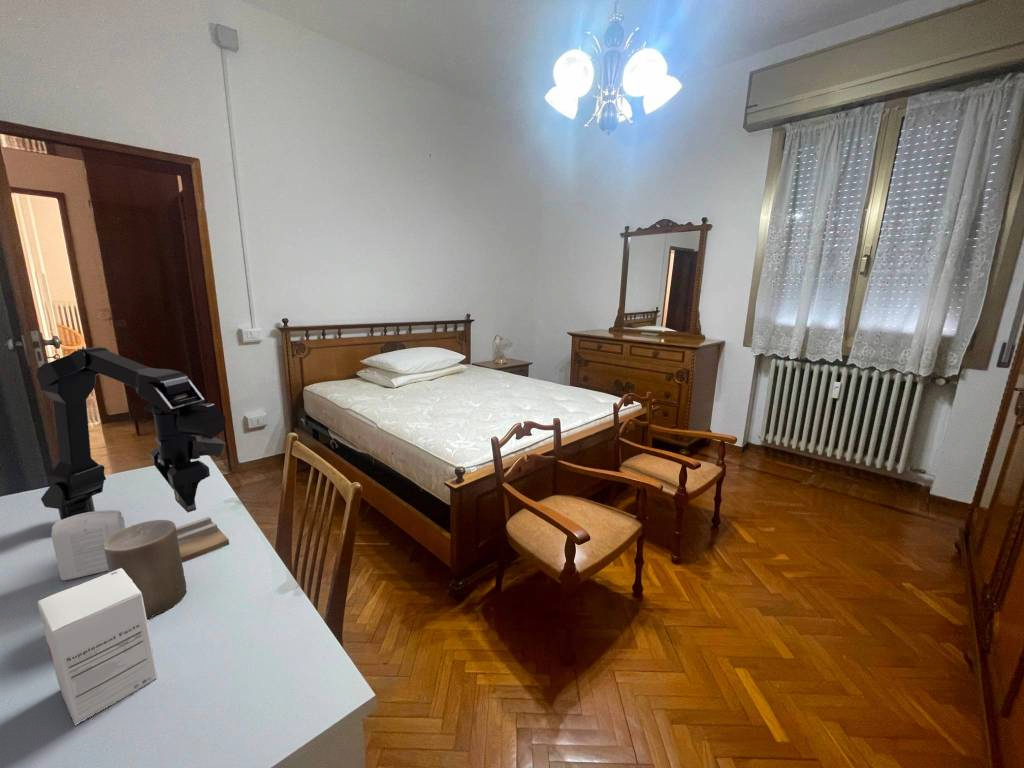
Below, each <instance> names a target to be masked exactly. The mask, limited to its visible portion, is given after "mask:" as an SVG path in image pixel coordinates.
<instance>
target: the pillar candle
mask: <svg viewBox="0 0 1024 768" xmlns="http://www.w3.org/2000/svg"><path fill="white" fill-rule="evenodd" d="M176 528H177V527H176V524H175V522H173V521H172V520H170V519H155V520H148V521H143V522H139V523H136V524H132V525H129V526H128V527H125V528H124V529H122V530H120V531H119V532H117V533H115V534H113V535H112V536H110V537H109V538H107V540H106V541H105V542H104V544H103V547H104V548H103V549H104V551H105V556H106V560H107V565H108V571H107V572H108V573H110V572H112V571H115V570H117V569H120V568H122V569H123V570H124V571H125V573H126V574H127V575H128V576H129V578H131V579H132V581H133V583H134V584H135V585H136V587H137V588H138V589H139V590H140V592H141V593H142V597H143V602H144V607H145V613H146V618H147V619H148V618H151V617H153V616H157V615H160V614H162V613H164V612H166V611H168V610H171V608H173V607H175V606H176V605H178V603H180V602H181V600H183V598H184V597H185V596H186V594H187V593H188V590H187V580H186V576H185V572H184V566H183V563H182V560H181V555H180V549H179V543H178V538H177V532H176Z"/></svg>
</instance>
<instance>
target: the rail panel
mask: <svg viewBox="0 0 1024 768" xmlns="http://www.w3.org/2000/svg"><path fill="white" fill-rule="evenodd" d="M176 532H177V538H178V543H179V549H180V555H181V560H182V564H183V563H185V562H188V561H191V560H193V559H196V558H197V557H201V556H203V555H206V554H208V553H211V552H214V551H216V550H219V549H221V548H223V547H226V546H229V545H230V539H229V538H228V537H227V536H226V535H225V533H224V532H223V531H221V529H220V528H219V527H218V524H216V523H214V521H212V518H211V517H210V516H207V517H204V518H201V519H198V520H194V521H192V522H189V523H185V524H183V525H181V526H177V527H176Z"/></svg>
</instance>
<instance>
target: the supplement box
mask: <svg viewBox="0 0 1024 768" xmlns="http://www.w3.org/2000/svg"><path fill="white" fill-rule="evenodd" d="M37 607H38V611H39V614H40V619H41V623H42V627H43V630H44V635H45V638H46V643H47V646H48V650H49V655H50V657H51V661H52V666H53V668H54V671H55V677H56V679H57V683H58V685H59V690H60V692H61V693H60V694H61V696H62V698H63V700H64V703H65V705H66V707H67V710H68V712H69V713H68V714H69V715H70V717H72V718H71V719H73V720H72V722H73V721H74V722H73V724H74V723H75V724H77V723H79V722H81V721H83V720H84V719H86V718H88V717H90V716H92V715H94V714H95V713H97V712H99V713H100V711H101V710H102V711H104V710H106V709H107V708H109V707H111V706H112V705H114V704H116V703H117V701H118V702H119V701H121V700H123V699H124V698H126V697H128V696H129V695H132V694H133V693H134V692H136V691H138V690H140V689H141V688H143V687H144V686H146V685H148V684H150V683H151V682H154V681H155V680H156V679H158V671H157V666H156V660H155V656H154V650H153V646H152V641H151V636H150V635H151V634H150V629H149V624H148V618H146V613H145V607H144V602H143V597H142V593H141V592H140V590H139V589H138V588H137V587H136V585H135V584H134V583H133V581H132V579H131V578H129V576H128V575H127V574H126V573H125V571H124V570H123V569H122V568H120V569H117V570H115V571H112V572H110V573H109V572H108V573H106V574H103V575H101V576H98V577H95V578H93V579H91V580H88V581H85V582H83V583H81V584H77V585H75V586H73V587H70V588H67V589H64V590H62V591H58V592H55V593H54V594H51V595H49V596H47V597H45V598H41V599H40V600H38V601H37ZM110 705H111V706H110ZM108 706H109V707H108ZM105 708H106V709H105ZM103 709H104V710H103ZM102 711H101V712H102ZM97 714H98V713H97ZM95 715H96V714H95ZM95 715H94V716H95ZM92 717H93V716H92ZM90 718H91V717H90ZM75 724H74V725H75Z"/></svg>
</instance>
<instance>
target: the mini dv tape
mask: <svg viewBox="0 0 1024 768" xmlns="http://www.w3.org/2000/svg"><path fill="white" fill-rule="evenodd" d="M173 493H174V499H175V501H176V502H177V503H178V504H179V506H180V507H182V509H183V510H185V512H186V513H191V512H193V511H197V506H196V505H197V504H196V499H195V500H194V504H193V505H192V506H187V505H186V504H185V503H184V501H183V500H182V499H181V497H180V496H179V495H178V493H177V492H176V491H175V489H174V490H173Z"/></svg>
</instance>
